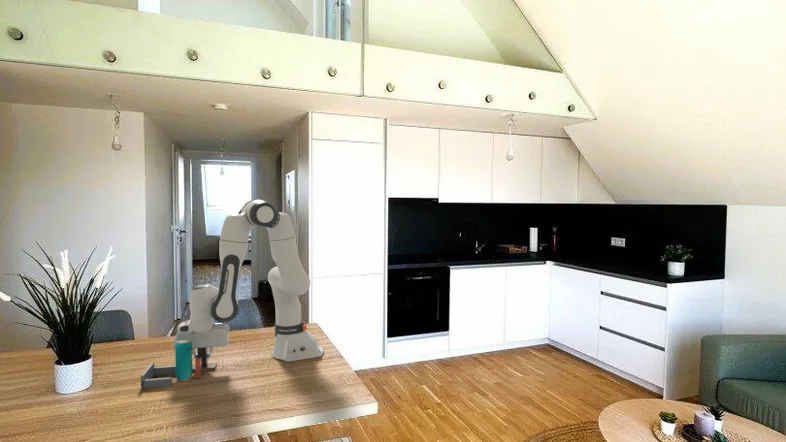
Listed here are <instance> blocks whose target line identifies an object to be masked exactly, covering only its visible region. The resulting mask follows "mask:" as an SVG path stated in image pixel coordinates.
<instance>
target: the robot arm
mask: <svg viewBox="0 0 786 442" xmlns="http://www.w3.org/2000/svg"><path fill="white" fill-rule="evenodd" d="M254 227H260V228H265V229H266V230H267V233H268V240H269V247H270V252H271V253H270V254H271V259H272V260H273V261H274V262H275V265H276V266H274V267H272V268H271V269H270V270H269V272H268V274H267V281H268V283H269V285H270V287H271V290H272V291H271V292H272V296H273V300H274V306H275V323H274V327H273V329H274V331H273V332H274V342H273V343H274V344H273V349H272V353H271V356H272V358H274V359H277V360H282V361H284V362H288V363H289V362H296V361H301V360H308V359H313V358H320V357H322V356H323V355H324V348H323V346H322V345H321V344H319V341H318V338H317V337H316V335H314V334H313V333H311V332H310V331H308V330H307V329H308V326H307V325H306V323H305V321H302V304H301V302H300V300H299V297H298V296H301V295H304V294H306V293H307V291H308V290H309V289H310V287H311V280H310V277H309V275H308V274H307V273H306V272H305V269H304V267H303V264H302V261H301V259H300V255H299V252H298V248H297V240H296V234H295V233H296V232H295V229H294V225H293V221H292V217H291V216H290V215H289V214H288V213H286V212H279V211H278V210H277V208H276V207H275V206H274V205H273V204H272V203H271V202H269V201H266V200H263V199H252V200H249V201H247V202H246V203H244V205H243V206H242V208H241V209H240V210H239V211H238V212H237V213H232V214H229V215H227V216H226V217H225V219H224V221H223V223H222V227H221V232H220V235H219V242H218V243H219V244H218V245H219V246H218V253H219V255H218V256H219V261H220V269H221V271H220V280H219V287H216V286H214V285H212V284H211V283H202V284H199V285H197V286H196V285H195V286H194V287H193V288H192V289H191V291H190V295H189V309H190V316H189V319H188V320H186V321H182V322H180V324H178V326H177V327H176V328H177V329H176V331H177V333H175V336H174V343H173V346H174V348H175V345H176V341H177V340H179V339H183V338H189V339H191V342H192V356H193V359H194V360H196V358H197V357H198V356H197V351H196V349H197V348H205V347H208V349H209V351H208V352H207V354H206V358H208V359H210V358H211V357H212V352H213V350H214V349H215V348H216V347H227V346H228V345H229V344H230V334H229V333H230V331H231V330H230V325H229V324H227V323H228V322H232V321H233V320H234V319H236V317H237V315H238V313H239V302H238V301H239V300H238V296H237V285H238V278H239V274H240V271H241V267H242V265H243V262H244V260H245V258H246V255H247V250H248V246H249V240H250V239H249V238H250V234H251V232H252V230H253V228H254ZM215 321H216V322H218V323H215Z"/></svg>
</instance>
